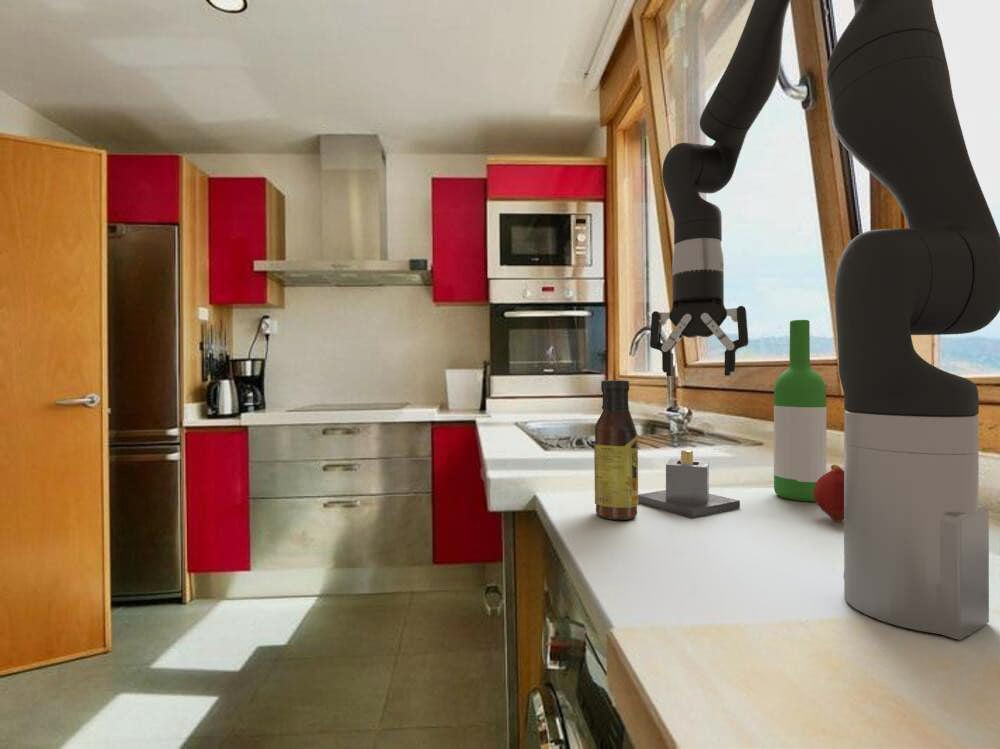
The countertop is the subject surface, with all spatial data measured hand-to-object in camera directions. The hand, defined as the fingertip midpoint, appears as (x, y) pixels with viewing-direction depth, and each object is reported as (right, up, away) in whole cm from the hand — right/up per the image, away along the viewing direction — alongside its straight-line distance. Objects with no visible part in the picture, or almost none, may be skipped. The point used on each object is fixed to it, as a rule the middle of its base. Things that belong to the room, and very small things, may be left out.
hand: (697, 375), depth 82 cm
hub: (-1, -21, +1) cm, 21 cm away
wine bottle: (+20, -21, +7) cm, 30 cm away
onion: (+17, -21, -8) cm, 28 cm away
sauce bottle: (-14, -21, -5) cm, 25 cm away
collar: (-1, -19, +1) cm, 19 cm away
